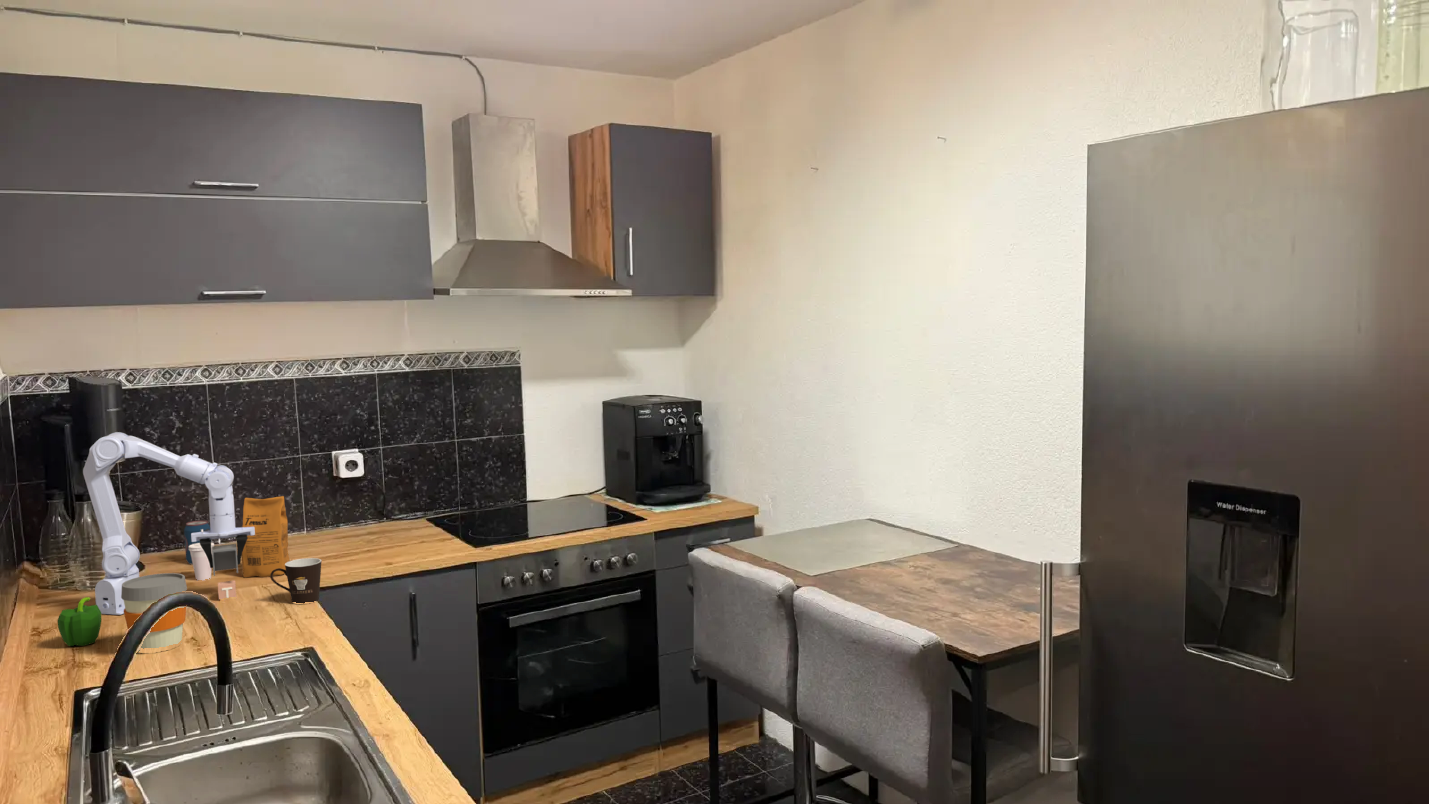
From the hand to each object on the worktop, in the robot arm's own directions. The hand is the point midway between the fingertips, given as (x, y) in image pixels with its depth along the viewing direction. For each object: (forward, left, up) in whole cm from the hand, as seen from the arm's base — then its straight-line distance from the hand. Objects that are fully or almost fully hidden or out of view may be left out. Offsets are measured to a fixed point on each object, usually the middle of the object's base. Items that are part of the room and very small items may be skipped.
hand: (225, 565), depth 246 cm
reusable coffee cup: (-35, -11, -9) cm, 38 cm away
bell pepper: (-36, +8, -9) cm, 38 cm away
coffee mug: (+1, -21, -9) cm, 22 cm away
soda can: (+31, +35, -9) cm, 48 cm away
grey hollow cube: (0, 0, -2) cm, 2 cm away
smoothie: (+15, +20, -9) cm, 26 cm away
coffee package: (+23, +6, -9) cm, 25 cm away
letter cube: (0, 0, -9) cm, 9 cm away
